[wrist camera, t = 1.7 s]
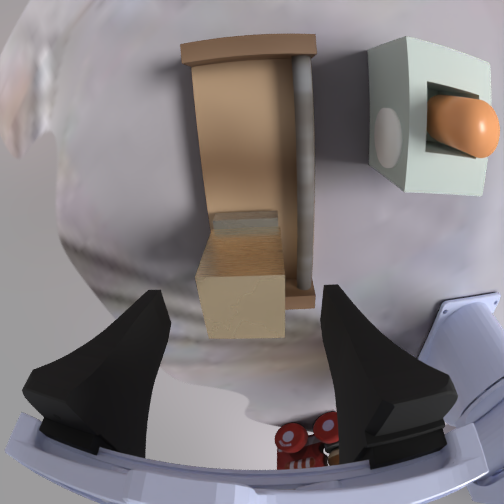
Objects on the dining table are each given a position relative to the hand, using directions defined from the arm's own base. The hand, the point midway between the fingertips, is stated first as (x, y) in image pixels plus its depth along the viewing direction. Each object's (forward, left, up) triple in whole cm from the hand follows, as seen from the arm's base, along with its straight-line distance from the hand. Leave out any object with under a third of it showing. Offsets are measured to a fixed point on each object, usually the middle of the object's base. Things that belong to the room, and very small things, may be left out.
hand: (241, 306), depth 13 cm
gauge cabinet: (+8, -10, -7) cm, 14 cm away
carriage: (0, 0, -5) cm, 5 cm away
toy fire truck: (-28, -7, -7) cm, 29 cm away
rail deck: (+4, -1, -7) cm, 8 cm away
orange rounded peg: (+8, -10, -3) cm, 13 cm away
